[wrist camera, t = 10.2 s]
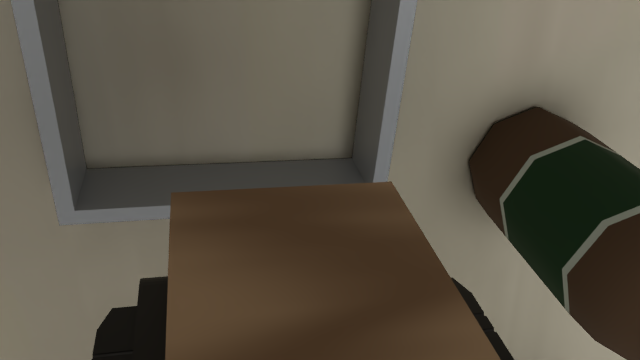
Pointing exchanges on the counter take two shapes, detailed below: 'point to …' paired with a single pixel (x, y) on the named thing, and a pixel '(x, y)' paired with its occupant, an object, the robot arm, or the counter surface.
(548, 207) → the beer bottle
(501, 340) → the robot arm
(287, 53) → the counter surface
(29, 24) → the grey bin
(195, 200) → the walnut block
